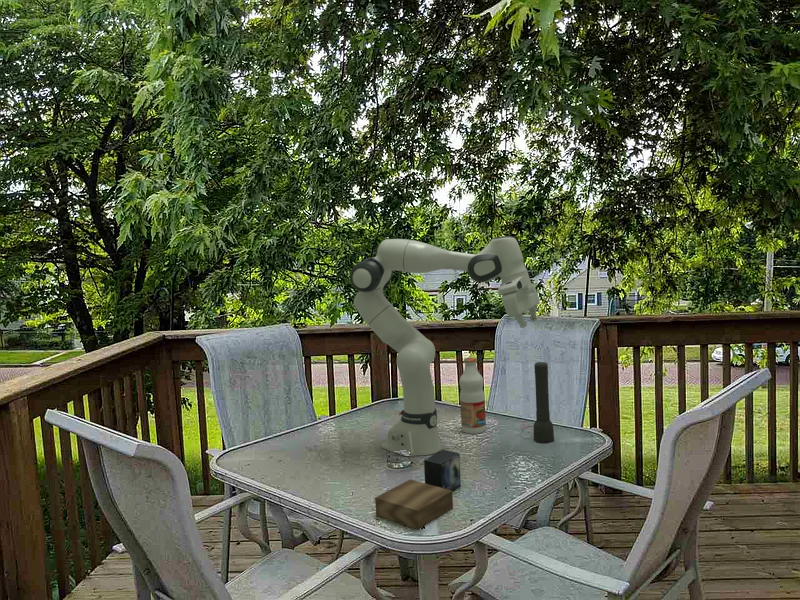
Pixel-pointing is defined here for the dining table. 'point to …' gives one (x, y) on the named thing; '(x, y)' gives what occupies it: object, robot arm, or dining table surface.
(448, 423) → the dining table surface
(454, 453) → the small box
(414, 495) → the stand
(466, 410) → the fruit juice
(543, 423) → the flashlight
